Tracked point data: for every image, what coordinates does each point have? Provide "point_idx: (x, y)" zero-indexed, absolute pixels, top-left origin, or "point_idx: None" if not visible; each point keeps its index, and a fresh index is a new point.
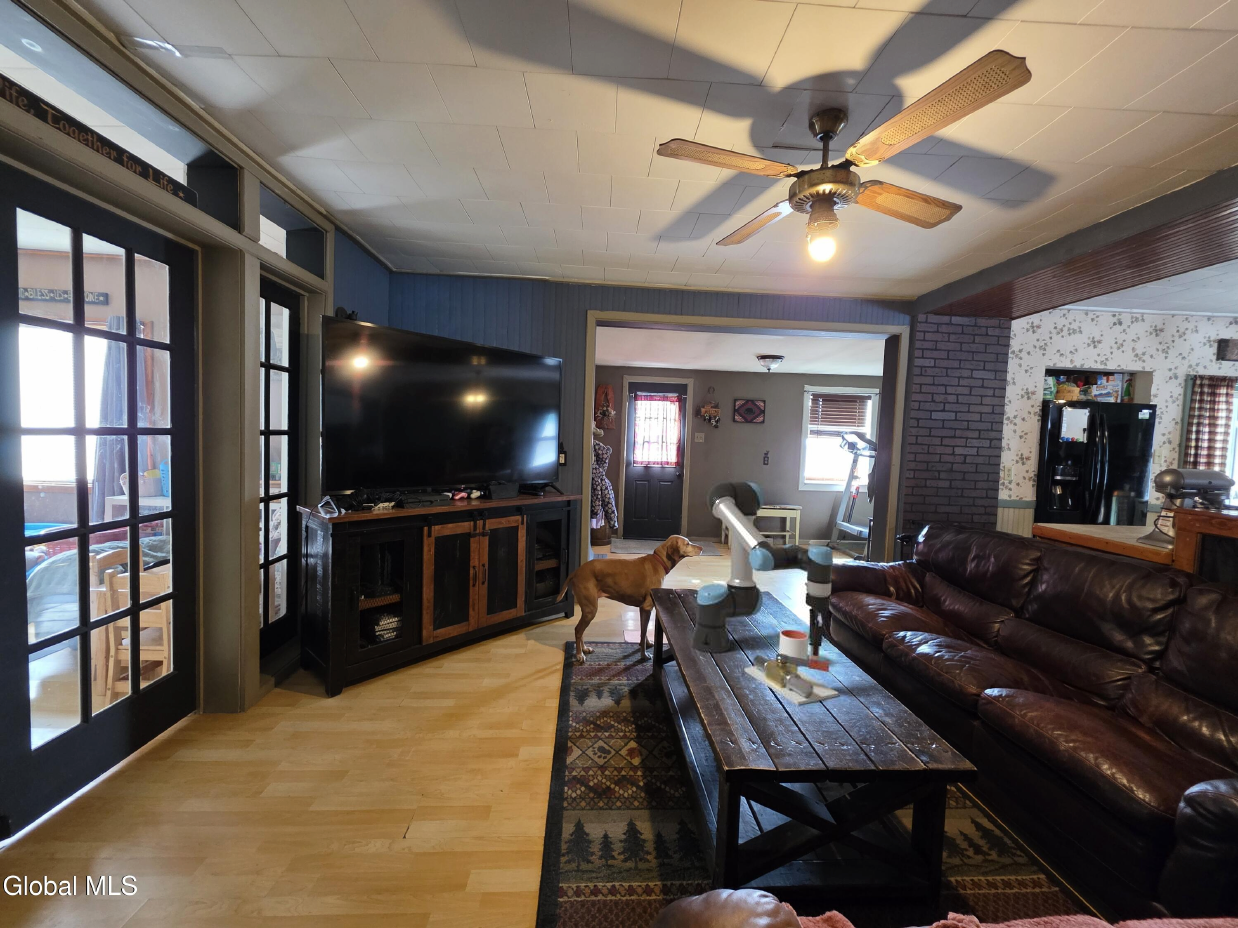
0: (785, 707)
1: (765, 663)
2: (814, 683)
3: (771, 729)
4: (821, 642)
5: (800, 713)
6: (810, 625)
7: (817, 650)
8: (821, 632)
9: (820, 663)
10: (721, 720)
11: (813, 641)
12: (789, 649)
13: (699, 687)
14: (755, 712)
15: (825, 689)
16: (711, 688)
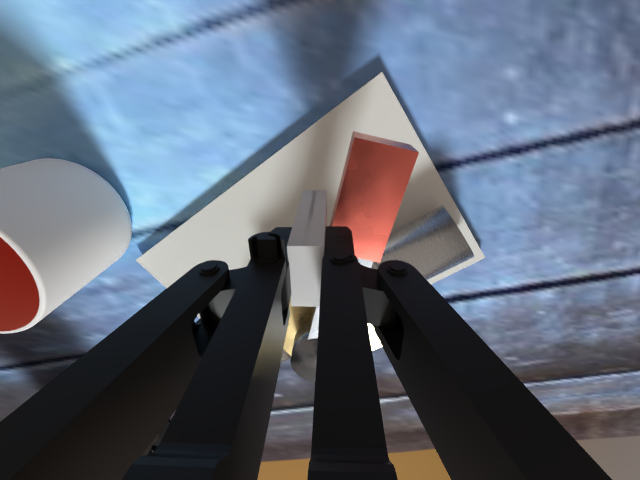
0: (497, 288)
1: (285, 359)
2: (307, 169)
3: (630, 338)
4: (435, 290)
5: (540, 252)
6: (159, 431)
7: (353, 249)
8: (538, 424)
9: (384, 201)
10: (564, 423)
11: (400, 345)
12: (92, 266)
13: (395, 447)
14: (527, 361)
15: (356, 130)
16: (395, 430)
